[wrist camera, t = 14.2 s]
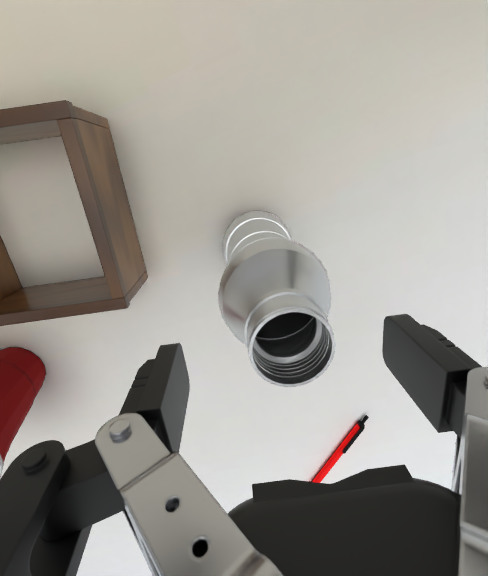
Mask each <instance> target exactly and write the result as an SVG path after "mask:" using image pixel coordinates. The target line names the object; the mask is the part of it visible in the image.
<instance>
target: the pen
mask: <svg viewBox="0 0 488 576" xmlns="http://www.w3.org/2000/svg"><path fill="white" fill-rule="evenodd" d="M367 419H368V416H367V415H366V416H365V417H364V418H363V420H362V421H358V422H357V424H356V425H355V426H354V428H353V429H352V430H351V432H350V433H349V434H348V435H347V437H346V438H345V439H344V441H343V442H342V443H341V444H340V446H339V447H338V448H337V450H336V451H335V452H334V453H333V455H332V456H331V457H330V459H329V460H328V461H327V463H326V464H325V465H324V466H323V468H322V469H321V470H320V472H319V473H318V474H317V475H316V477H315V478H314V479H313V481H312V482H315V483H320V482H321V481H322V480H323V478H324V477H325V476H326V474H327V473H328V472H329V471H330V469H331V468H332V467H333V466H334V464H335V463H336V462H337V461H338V459H339V458H340V457H341V455H342V454H343V453H346V451H347V450H348V449H349V447H350V446H351V445H352V444H353V442H354V441H355V440H356V439H357V437H358V436H359V435H360V433H361V432H362V431H363V430H364V428H365V427H364V426H365V425H364V423H365V421H366V420H367Z"/></svg>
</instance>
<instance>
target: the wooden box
mask: <svg viewBox="0 0 488 576" xmlns="http://www.w3.org/2000/svg"><path fill="white" fill-rule="evenodd" d="M56 136H62V139H63V142H64V145H65V149H66V152H67V155H68V158H69V162H70V165H71V168H72V171H73V174H74V178H75V181H76V184H77V187H78V191H79V194H80V197H81V200H82V203H83V207H84V210H85V213H86V216H87V220H88V223H89V226H90V229H91V232H92V236H93V239H94V242H95V245H96V249H97V252H98V255H99V258H100V261H101V265H102V268H103V271H104V274H105V276H104V277H97V278H90V279H83V280H75V281H68V282H61V283H54V284H47V285H40V286H33V287H25V288H22V287H21V284H20V282H19V279H18V277H17V275H16V272H15V270H14V268H13V265H12V263H11V260H10V258H9V256H8V253H7V251H6V248H5V246H4V244H3V241H2V239H1V236H0V326H4V325H11V324H18V323H25V322H32V321H39V320H47V319H54V318H61V317H68V316H75V315H83V314H90V313H97V312H104V311H111V310H119V309H126V308H128V307H129V305H130V303H129V302H130V301H131V300H132V298H133V297H134V295H135V294H136V293H137V291H138V290H139V289H140V287H141V286H142V285H143V283H144V282H145V281H146V279H147V278H148V276H147V272H146V268H145V264H144V261H143V257H142V253H141V249H140V245H139V241H138V237H137V233H136V230H135V226H134V222H133V218H132V214H131V210H130V206H129V202H128V199H127V195H126V191H125V187H124V183H123V179H122V175H121V171H120V168H119V164H118V160H117V156H116V152H115V148H114V144H113V141H112V137H111V133H110V129H109V125H108V121H107V119H106V118H104V117H101V116H98V115H96V114H93V113H91V112H88V111H86V110H83V109H81V108H78V107H76V106H73V105H72V103H71V102H69V101H66V100H64V101H57V102H50V103H43V104H36V105H29V106H22V107H15V108H9V109H2V110H0V145H1V144H8V143H15V142H22V141H29V140H36V139H43V138H50V137H56Z"/></svg>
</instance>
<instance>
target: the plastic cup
mask: <svg viewBox="0 0 488 576" xmlns="http://www.w3.org/2000/svg"><path fill="white" fill-rule="evenodd" d="M45 375H46V371H45V366H44V364H43V363H42V361H41V360H40V358H39V357H37V356H36V355H35V354H33V353H32V352H31V351H28V350H25V349H22V348H14V347H9V348H6V349H3V350H0V477H1V473H2V469H3V465H4V463H3V462H4V460H5V456H6V454H7V452H8V450H9V448H10V445H11V443H12V441H13V439H14V437H15V435H16V434H17V432H18V430H19V428H20V426H21V424H22V423H23V421H24V419H25V417H26V415H27V413H28V412H29V410H30V408H31V406H32V404H33V401H34V399H35V397H36V395H37V393H38V392H39V390H40V388H41V387H42V384H43V381H44V378H45Z"/></svg>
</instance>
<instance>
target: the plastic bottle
mask: <svg viewBox="0 0 488 576" xmlns="http://www.w3.org/2000/svg"><path fill="white" fill-rule="evenodd" d="M222 247H223V256H224V259H225V262H226V264H227V266H226V268H225V270H224V273H223V275H222V278H221V282H220V287H219V293H218V295H219V307H220V311H221V314H222V316H223V319H224V321H225V323H226V324H227V326H228V327H229V329H230V330H231V331H232V333H233V334H234V335H235V337H237V338H238V339H239V340H240V341H241V342H242V343H244V344H245V345H246V346H247V348H248V354H249V358H250V361H251V363H252V365H253V368H254V369H255V371H256V372H257V373H258V374H259V375H260V376H261V377H262V378H263V379H264V380H266V381H268V382H270V383H272V384H275V385H278V386H284V387H295V386H300V385H304V384H307V383H309V382H311V381H313V380H315V379H316V378H318V377H319V376H320V375H321V374H323V373H324V371H325V370H326V369H327V368H328V366H329V365H330V363H331V361H332V359H333V356H334V353H335V337H334V334H333V331H332V328H331V326H330V324H329V323H328V320H327V317H328V314H329V310H330V305H331V289H330V280H329V277H328V274H327V271H326V269H325V268H324V266H323V264H322V262H321V261H320V260H319V259H318V258H317V257H316V255H315V254H314V253H312V252H311V251H310V250H308V249H307V248H305V247H304V246H302V245H301V244H299V243H297V242H294V241H292V238H291V235H290V232H289V230H288V228H287V227H286V225H285V224H284V223H283V222H282V220H281V219H279V218H278V217H277V216H275V215H273V214H271V213H269V212H264V211H252V212H247V213H245V214H243V215H240V216H239V217H238V218H236V219H235V220H234V221H233V222H232V223H231V224H230V225H229V227H228V229H227V230H226V233H225V235H224V238H223V244H222Z"/></svg>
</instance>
